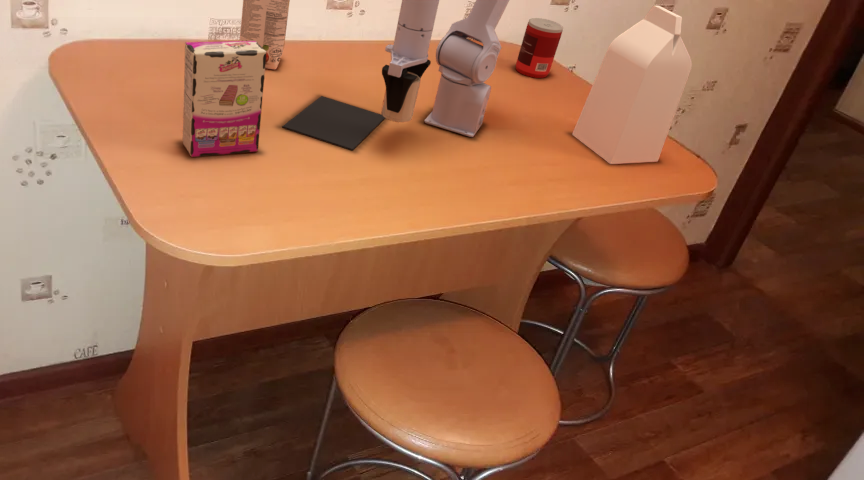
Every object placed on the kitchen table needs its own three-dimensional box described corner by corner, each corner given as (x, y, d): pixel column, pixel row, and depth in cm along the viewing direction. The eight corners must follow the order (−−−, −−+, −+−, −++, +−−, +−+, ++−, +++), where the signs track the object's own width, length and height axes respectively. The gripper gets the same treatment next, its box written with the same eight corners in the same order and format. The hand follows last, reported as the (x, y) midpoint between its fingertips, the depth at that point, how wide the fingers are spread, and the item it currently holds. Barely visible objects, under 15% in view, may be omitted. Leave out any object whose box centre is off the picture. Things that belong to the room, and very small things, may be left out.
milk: (571, 134, 153) (619, -2, 138) (617, 132, 158) (669, 1, 143) (610, 164, 144) (665, 22, 130) (657, 161, 149) (716, 24, 134)
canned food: (553, 73, 181) (568, 25, 175) (540, 81, 175) (556, 32, 169) (522, 62, 184) (536, 15, 177) (509, 70, 178) (523, 21, 171)
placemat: (385, 117, 145) (386, 116, 145) (352, 150, 131) (352, 149, 131) (321, 97, 148) (321, 95, 147) (282, 127, 134) (282, 126, 134)
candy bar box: (247, 138, 129) (256, 39, 119) (258, 152, 125) (269, 51, 116) (179, 143, 124) (184, 39, 114) (189, 158, 120) (195, 53, 111)
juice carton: (280, 72, 154) (291, -29, 143) (236, 65, 154) (244, -37, 143) (283, 59, 160) (295, -39, 149) (241, 51, 160) (249, -47, 149)
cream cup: (415, 115, 136) (424, 76, 132) (406, 125, 132) (414, 85, 128) (387, 106, 137) (394, 67, 133) (376, 116, 133) (384, 76, 129)
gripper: (405, 8, 132) (390, 85, 140) (376, 29, 121) (361, 111, 129) (445, 19, 131) (428, 96, 139) (420, 41, 119) (402, 124, 127)
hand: (398, 105), depth 134 cm, fingers closed on cream cup, 5 cm apart
